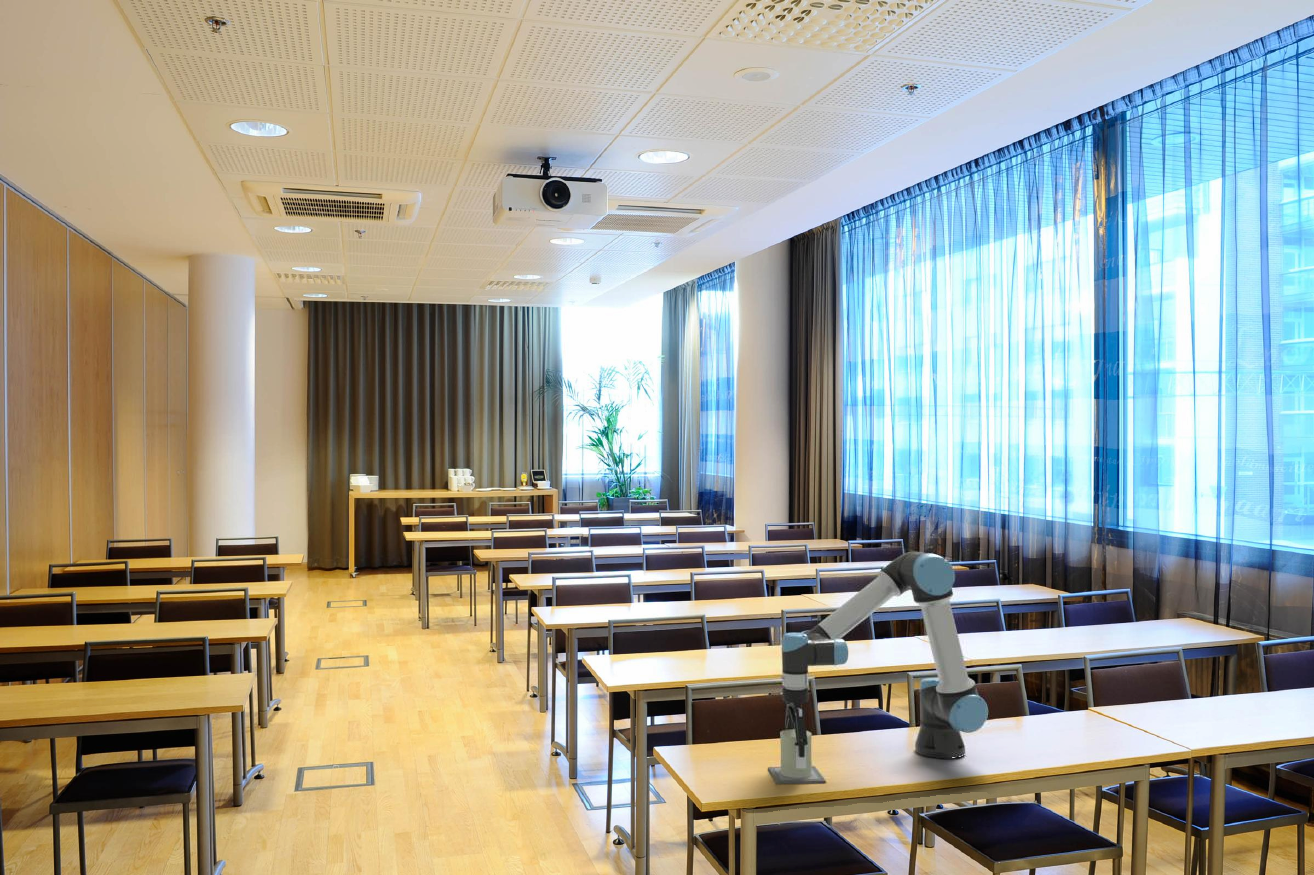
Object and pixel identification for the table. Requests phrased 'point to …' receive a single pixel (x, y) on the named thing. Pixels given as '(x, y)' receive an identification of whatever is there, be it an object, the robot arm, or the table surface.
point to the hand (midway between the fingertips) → (796, 761)
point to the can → (794, 755)
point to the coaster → (781, 779)
